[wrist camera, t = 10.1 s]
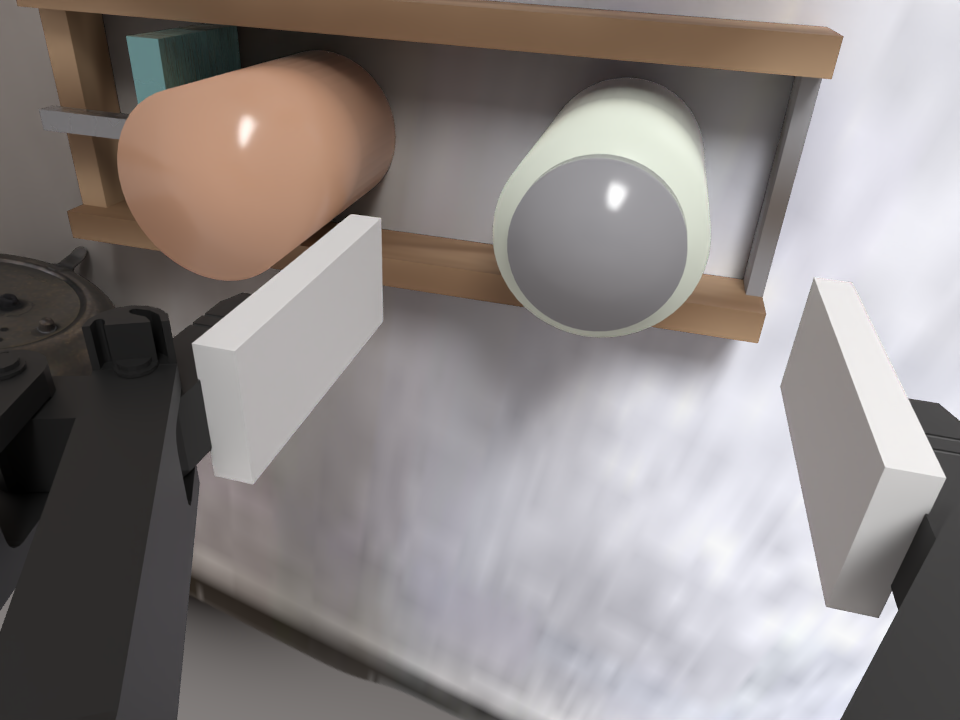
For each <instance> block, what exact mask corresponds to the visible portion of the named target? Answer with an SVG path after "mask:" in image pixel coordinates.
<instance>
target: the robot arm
mask: <svg viewBox="0 0 960 720" xmlns="http://www.w3.org/2000/svg"><path fill="white" fill-rule="evenodd" d="M382 322H383V285H382V232H381V218H377V217H370V216H362V215H355V214H350V215H349V216H348V217H346V218H345V219H344V220H343V221H342V222H340V223H339V224H338V225H337V226H335V227H334V228H333V229H332V230H331V231H329V232H328V233H327V234H326V235H324V236H323V237H322V238H321V239H319V240H318V241H317V242H316V243H315V244H313V245H312V246H311V247H310V248H308V249H307V250H306V251H305V252H304V253H302V254H301V255H300V256H299V257H297V258H296V259H295V260H294V261H292V262H291V263H290V264H289V265H288V266H286V267H285V268H284V269H283V270H281V271H280V272H279V273H278V274H276V275H275V276H274V277H273V278H272V279H270V280H269V281H268V282H267V283H265V284H264V285H263V286H262V287H261V288H259V289H258V290H257V291H256V292H254V293H253V294H248V293H241V294H238V295H236V296H233V297H231V298H228V299H226V300H223V301H220V302H219V303H218V304H217V305H215V306H214V307H213V308H211V309H210V310H209V311H208V312H206V313H205V316H201V317H200V318H198V319H197V320H196V321H195V322H193V325H189V326H188V327H187V328H186V329H184V330H183V331H182V332H180V333H179V334H178V335H177V336H175V337H174V338H172V333H171V327H170V322H169V318H168V314H167V313H165V312H164V311H162V310H161V309H158V308H154V307H149V306H126V307H119V308H114V309H110V310H107V311H104V312H101V313H98V314H96V315H95V316H93V317H91V318H89V319H88V320H87V321H86V322H85V323H84V324H83V325H82V331H83V335H84V339H85V343H86V347H87V351H88V355H89V359H90V362H91V366H92V370H93V371H92V374H91V376H52V375H51V371H50V368H49V365H48V361H47V359H46V356H45V355H43V354H41V353H39V352H37V351H30V350H24V349H23V350H1V351H0V610H1V609H2V607H3V606H4V604H5V602H6V601H7V600H8V598H9V597H10V595H11V594H12V592H13V591H14V589H15V588H16V589H15V591H14V594H13V597H12V600H11V603H10V606H9V609H8V611H7V614H6V617H5V620H4V623H3V625H2V628H1V631H0V720H177V714H178V704H179V693H180V682H181V672H182V662H183V652H184V651H183V650H184V642H185V641H184V640H185V631H186V620H187V610H188V599H189V589H190V579H191V568H192V558H193V547H194V537H195V526H196V516H197V505H198V495H199V485H200V482H199V477H198V472H197V466H196V465H197V464H198V463H199V462H200V460H201V459H202V458H203V457H204V456H205V455H206V454H207V453H208V452H209V451H210V452H211V458H212V464H213V470H214V475H215V476H216V477H221V478H226V479H231V480H235V481H240V482H245V483H249V484H254V483H255V482H256V480H257V479H258V478H259V477H260V475H261V474H262V473H263V472H264V470H265V469H266V468H267V467H268V465H269V464H270V463H271V461H272V460H273V459H274V458H275V456H276V455H277V454H278V453H279V451H280V450H281V449H282V448H283V446H284V445H285V444H286V443H287V441H288V440H289V439H290V438H291V436H292V435H293V434H294V433H295V431H296V430H297V429H298V428H299V426H300V425H301V424H302V423H303V421H304V420H305V419H306V418H307V416H308V415H309V414H310V413H311V411H312V410H313V409H314V408H315V406H316V405H317V404H318V403H319V401H320V400H321V399H322V398H323V396H324V395H325V394H326V393H327V391H328V390H329V389H330V388H331V386H332V385H333V384H334V382H335V381H336V380H337V379H338V377H339V376H340V375H341V374H342V372H343V371H344V370H345V369H346V367H347V366H348V365H349V364H350V362H351V361H352V360H353V359H354V357H355V356H356V355H357V354H358V352H359V351H360V350H361V349H362V347H363V346H364V345H365V344H366V342H367V341H368V340H369V339H370V337H371V336H372V335H373V334H374V332H375V331H376V330H377V329H378V327H379V326H380V325H381V324H382ZM780 387H781V392H782V397H783V402H784V407H785V412H786V416H787V421H788V426H789V431H790V436H791V440H792V445H793V450H794V455H795V460H796V465H797V469H798V474H799V479H800V484H801V489H802V494H803V498H804V503H805V508H806V513H807V518H808V522H809V527H810V532H811V537H812V542H813V547H814V551H815V556H816V561H817V566H818V571H819V576H820V580H821V585H822V590H823V595H824V600H825V605H826V607H830V608H834V609H839V610H844V611H848V612H853V613H858V614H862V615H867V616H872V617H876V618H879V616H880V614H881V612H882V610H883V608H884V606H885V604H886V602H887V600H888V598H889V596H890V594H891V592H893V595H894V598H895V601H896V605H897V608H898V612H897V614H896V616H895V618H894V620H893V621H892V623H891V625H890V627H889V629H888V631H887V633H886V635H885V636H884V638H883V640H882V642H881V644H880V646H879V648H878V650H877V652H876V653H875V655H874V657H873V659H872V661H871V663H870V665H869V667H868V669H867V670H866V672H865V674H864V676H863V678H862V680H861V682H860V684H859V685H858V687H857V689H856V691H855V693H854V695H853V697H852V699H851V701H850V702H849V704H848V706H847V708H846V710H845V712H844V714H843V716H842V718H841V719H840V720H960V421H959V420H958V419H957V418H955V417H954V416H953V415H952V414H951V413H950V412H948V411H947V410H946V409H945V408H944V407H942V406H941V405H940V404H939V403H933V402H927V401H921V400H914V399H908V397H907V395H906V393H905V391H904V389H903V387H902V385H901V383H900V381H899V379H898V377H897V374H896V372H895V370H894V368H893V366H892V364H891V362H890V360H889V358H888V356H887V354H886V352H885V349H884V347H883V345H882V343H881V341H880V339H879V337H878V335H877V333H876V331H875V329H874V327H873V324H872V322H871V320H870V318H869V316H868V314H867V312H866V310H865V308H864V306H863V304H862V302H861V299H860V297H859V295H858V293H857V291H856V289H855V287H854V285H853V283H852V282H845V281H838V280H831V279H823V278H816V277H814V279H813V282H812V285H811V289H810V292H809V295H808V298H807V302H806V305H805V308H804V311H803V315H802V318H801V321H800V324H799V328H798V331H797V334H796V337H795V340H794V344H793V347H792V350H791V353H790V357H789V360H788V363H787V366H786V370H785V373H784V376H783V379H782V383H781V386H780Z"/></svg>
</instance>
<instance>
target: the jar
mask: <svg viewBox="0 0 960 720" xmlns="http://www.w3.org/2000/svg"><path fill="white" fill-rule="evenodd" d="M710 244H711V225H710V213H709V201H708V189H707V177H706V165H705V153H704V144H703V138H702V134H701V130H700V127H699V125H698V123H697V120H696V118H695V117H694V115H693V113H692V112H691V110H690V109H689V107H688V106H687V105H686V104H685V103H684V101H683V100H681V99H680V98H679V97H678V96H677V95H676V94H675V93H673V92H672V91H670V90H669V89H667V88H666V87H664V86H661V85H659V84H657V83H655V82H652V81H648V80H645V79H639V78H615V79H610V80H606V81H602V82H599V83H597V84H594V85H592V86H590V87H588V88H586V89H585V90H583V91H581V92H580V93H579V94H577V95H576V96H575V97H573V98H572V99H571V100H570V101H569V102H568V103H567V104H566V105H565V106H564V108H563V109H562V110H561V111H560V113H559V114H558V115H557V116H556V118H555V119H554V120H553V122H552V123H551V124H550V126H549V127H548V128H547V129H546V131H545V132H544V133H543V135H542V136H541V137H540V139H539V140H538V141H537V142H536V144H535V145H534V146H533V148H532V149H531V150H530V152H529V153H528V154H527V155H526V157H525V158H524V159H523V161H522V162H521V163H520V164H519V166H518V167H517V168H516V170H515V171H514V172H513V174H512V175H511V176H510V178H509V179H508V181H507V183H506V184H505V186H504V188H503V190H502V192H501V195H500V197H499V199H498V202H497V206H496V209H495V213H494V220H493V247H494V254H495V257H496V261H497V265H498V267H499V270H500V272H501V274H502V277H503V279H504V281H505V282H506V284H507V286H508V287H509V289H510V290H511V292H512V293H513V294H514V296H515V297H516V298H517V300H518V301H519V302H520V303H521V304H522V305H523V306H524V307H525V308H526V309H527V310H529V311H530V312H531V313H532V314H534V315H535V316H536V317H538V318H539V319H541V320H542V321H544V322H546V323H547V324H549V325H551V326H553V327H555V328H558V329H560V330H563V331H566V332H569V333H572V334H576V335H581V336H587V337H597V338H603V337H617V336H625V335H629V334H632V333H636V332H639V331H642V330H644V329H647V328H650V327H651V326H653V325H655V324H657V323H659V322H661V321H662V320H664V319H665V318H667V317H668V316H670V315H671V314H672V313H674V312H675V311H676V310H677V309H678V308H679V307H680V306H681V305H682V304H683V303H684V302H685V301H686V300H687V298H688V297H689V296H690V295H691V294H692V292H693V291H694V289H695V287H696V286H697V284H698V283H699V281H700V279H701V276H702V274H703V272H704V270H705V267H706V263H707V260H708V257H709V250H710Z"/></svg>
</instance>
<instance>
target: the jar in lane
mask: <svg viewBox="0 0 960 720" xmlns="http://www.w3.org/2000/svg"><path fill="white" fill-rule="evenodd" d="M395 139H396V135H395V124H394V119H393V115H392V112H391V108H390V106H389V103H388V101H387V99H386V97H385V95H384V93H383V91H382V90H381V88H380V87H379V85H378V84H377V83H376V81H375V80H374V79H373V78H372V77H371V76H370V74H369V73H368V72H367V71H366V70H364V69H363V68H362V67H361V66H360V65H358V64H357V63H355V62H354V61H352V60H350V59H348V58H346V57H344V56H342V55H340V54H336V53H333V52H329V51H323V50H312V51H304V52H301V53H297V54H293V55H290V56H286V57H283V58H279V59H275V60H272V61H268V62H264V63H261V64H257V65H254V66H250V67H246V68H243V69H239V70H235V71H232V72H228V73H225V74H221V75H217V76H214V77H210V78H206V79H203V80H199V81H196V82H192V83H188V84H185V85H181V86H177V87H174V88H170V89H167V90H163V91H160V92H157V93H155V94H153V95H151V96H149V97H147V98H146V99H144V100H143V101H142V102H141V103H139V104H138V105H137V106H136V107H135V109H134V110H133V111H132V112H131V113H130V115H129V117H128V118H127V120H126V121H125V124H124V126H123V129H122V131H121V135H120V139H119V143H118V152H117V166H118V174H119V180H120V184H121V188H122V191H123V194H124V197H125V200H126V202H127V205H128V207H129V209H130V211H131V213H132V215H133V216H134V218H135V220H136V221H137V223H138V225H139V226H140V228H141V229H142V230H143V232H144V233H145V234H146V236H147V237H148V238H149V239H150V240H151V241H152V242H153V244H154V245H155V246H156V247H157V248H158V249H159V250H161V251H162V252H163V253H164V254H165V255H166V256H167V257H169V258H170V259H171V260H173V261H174V262H176V263H177V264H179V265H180V266H182V267H184V268H185V269H187V270H189V271H192V272H194V273H196V274H198V275H201V276H204V277H207V278H212V279H216V280H225V281H235V280H243V279H248V278H251V277H254V276H257V275H259V274H261V273H263V272H264V271H266V270H268V269H269V268H270V267H271V266H273V265H274V264H275V263H277V262H278V261H279V260H281V259H282V258H283V257H284V256H286V255H287V254H288V253H290V252H291V251H292V250H294V249H295V248H296V247H297V246H299V245H300V244H301V243H303V242H304V241H305V240H306V239H308V238H309V237H310V236H312V235H313V234H314V233H316V232H317V231H318V230H319V229H321V228H322V227H323V226H325V225H326V224H327V223H328V222H330V221H331V220H332V219H334V218H335V217H336V216H338V215H339V214H340V213H341V212H343V211H344V210H345V209H347V208H348V207H349V206H351V205H352V204H353V203H354V202H356V201H357V200H358V199H360V198H361V197H362V196H363V195H365V194H366V193H367V192H369V191H370V190H371V189H372V188H374V187H375V186H376V185H377V184H378V183H379V182H380V181H381V180H382V178H383V177H384V175H385V174H386V173H387V171H388V169H389V166H390V164H391V161H392V158H393V155H394V150H395Z"/></svg>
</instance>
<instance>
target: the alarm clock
mask: <svg viewBox="0 0 960 720" xmlns="http://www.w3.org/2000/svg"><path fill="white" fill-rule="evenodd" d="M86 252H87V250H86V249H85V248H84V247H78V248H76V249H75V250H73V252H72V253H71V254H70V255H69V256H67V257H66V258H65V259H63V260H62V261H61V262H60V263H58V264H50V263H46V262H43V261H39V260H35V259H30V258H25V257H20V256H14V255H8V254H0V351H1V350H23V349H24V350H30V351H37V352H39V353H41V354H43V355H45V356H46V359H47V361H48V365H49V368H50V371H51V375H52V376H91V374H92V371H93V370H92V366H91V362H90V359H89V355H88V351H87V347H86V343H85V339H84V335H83V331H82V325H83V324H84V323H85V322H86V321H87V320H88V319H89V318H91V317H93V316H95V315H96V314H98V313H101V312H104V311H107V310H110V309H114V308H115V307H114V305H113V303H112V302H111V301H110V299H109V298H108V297H107V296H106V295H105V294H104V293H103V292H102V291H101V290H100V289H99V288H98V287H97V286H95V285H94V284H92V283H91V282H90V281H88V280H86V279H85V278H83V277H81V276H80V275H78V274H76V273H74V272H73V271H74V268H75V267H76V266H77V265H78V264H79V263H80V262H81V261H82V260H83V259H84V258H85V256H86Z"/></svg>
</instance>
